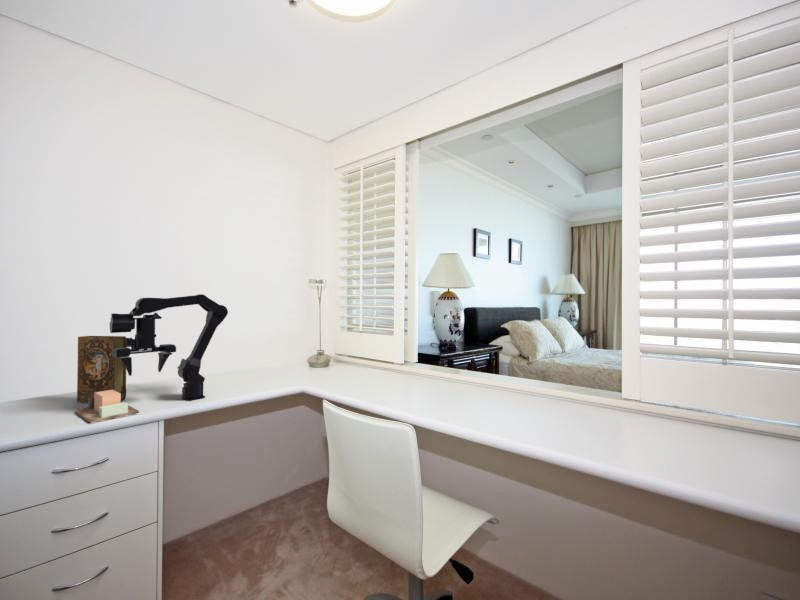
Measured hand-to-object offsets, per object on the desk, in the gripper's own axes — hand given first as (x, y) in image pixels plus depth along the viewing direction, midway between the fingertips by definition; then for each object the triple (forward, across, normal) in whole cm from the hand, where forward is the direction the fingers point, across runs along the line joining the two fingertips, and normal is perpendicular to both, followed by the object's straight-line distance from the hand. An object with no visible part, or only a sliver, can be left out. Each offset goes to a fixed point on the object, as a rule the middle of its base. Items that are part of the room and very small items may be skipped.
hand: (145, 373), depth 132 cm
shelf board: (+12, +11, 0) cm, 16 cm away
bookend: (+11, +11, -8) cm, 17 cm away
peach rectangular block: (+11, +11, 0) cm, 15 cm away
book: (+12, +8, -21) cm, 26 cm away
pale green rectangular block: (+12, +11, +6) cm, 18 cm away
